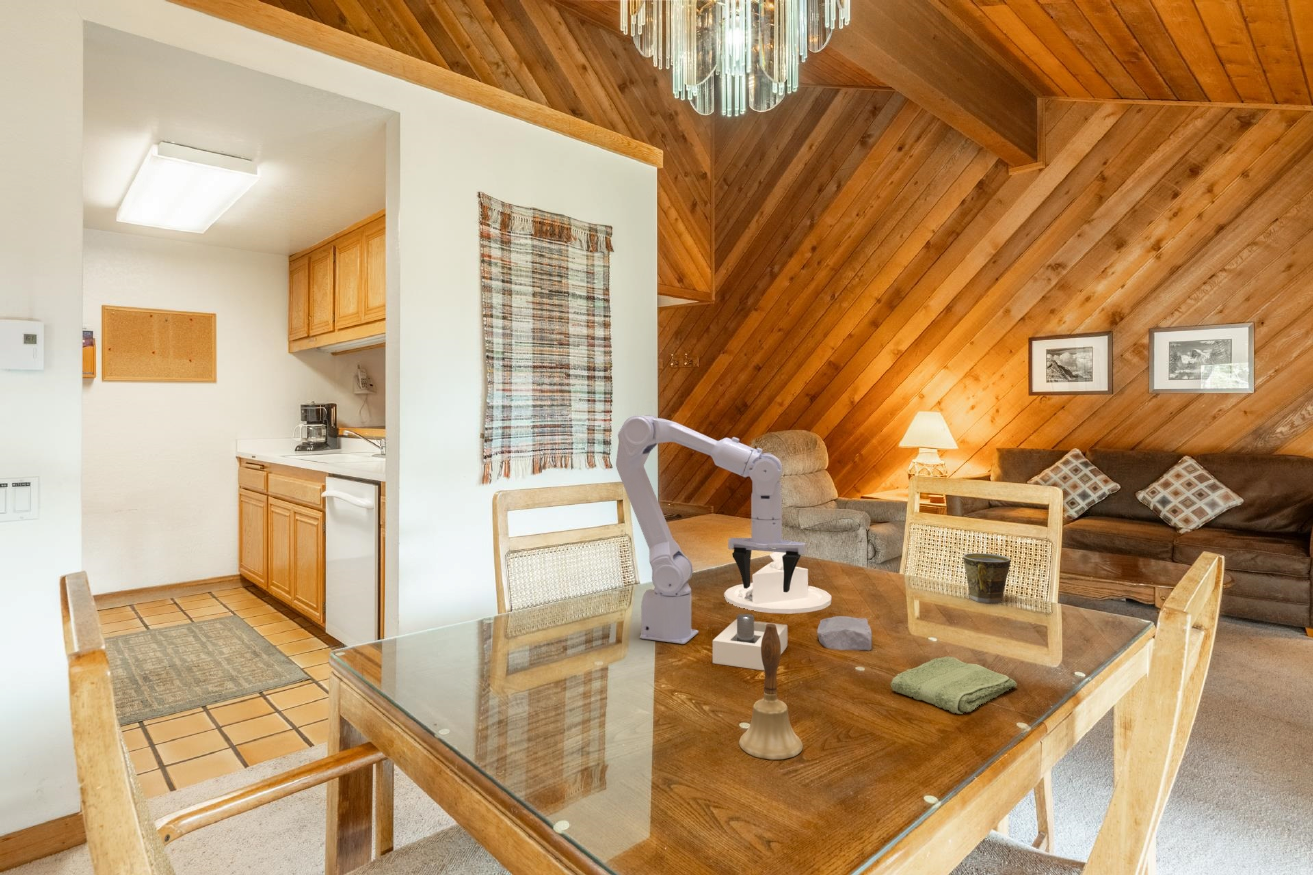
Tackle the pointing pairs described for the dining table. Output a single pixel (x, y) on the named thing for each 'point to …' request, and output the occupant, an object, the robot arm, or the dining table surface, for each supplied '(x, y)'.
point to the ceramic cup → (986, 576)
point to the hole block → (744, 646)
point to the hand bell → (770, 711)
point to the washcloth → (952, 684)
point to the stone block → (845, 633)
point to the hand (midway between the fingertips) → (766, 589)
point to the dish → (778, 591)
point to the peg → (745, 628)
